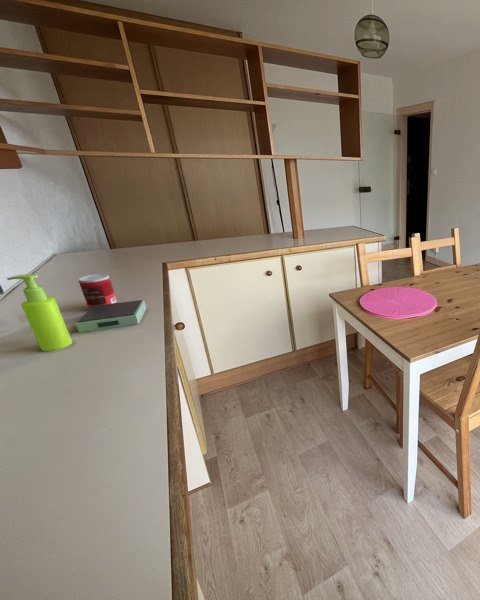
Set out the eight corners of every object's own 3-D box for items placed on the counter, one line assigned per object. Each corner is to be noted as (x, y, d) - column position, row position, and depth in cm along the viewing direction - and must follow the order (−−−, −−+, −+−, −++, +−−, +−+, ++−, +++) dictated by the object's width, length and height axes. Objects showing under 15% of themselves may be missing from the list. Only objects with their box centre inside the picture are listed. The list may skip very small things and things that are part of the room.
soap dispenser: (50, 340, 87) (21, 272, 80) (78, 340, 88) (51, 272, 81) (30, 351, 82) (-4, 279, 75) (59, 350, 83) (28, 279, 75)
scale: (78, 332, 92) (74, 322, 91) (93, 315, 103) (90, 305, 102) (138, 324, 98) (135, 314, 97) (146, 308, 110) (143, 299, 109)
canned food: (114, 301, 115) (104, 272, 111) (121, 306, 110) (112, 277, 106) (86, 307, 109) (75, 277, 105) (92, 313, 104) (81, 282, 100)
